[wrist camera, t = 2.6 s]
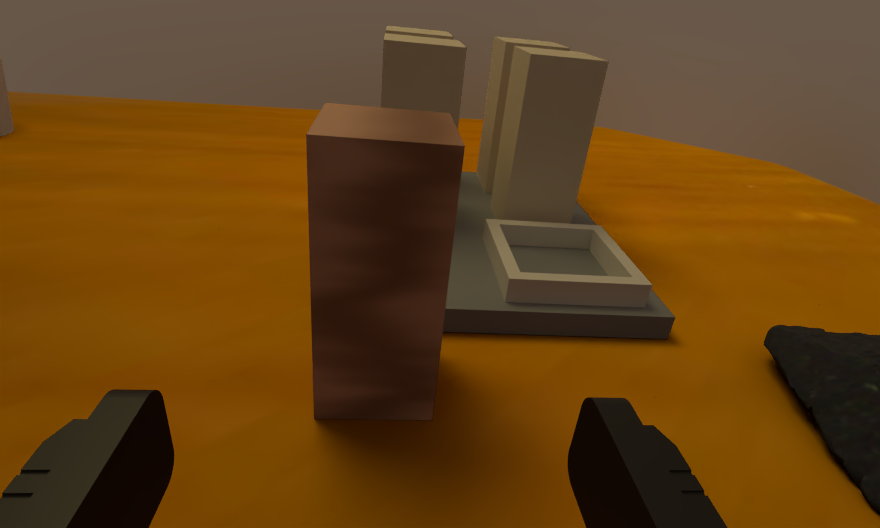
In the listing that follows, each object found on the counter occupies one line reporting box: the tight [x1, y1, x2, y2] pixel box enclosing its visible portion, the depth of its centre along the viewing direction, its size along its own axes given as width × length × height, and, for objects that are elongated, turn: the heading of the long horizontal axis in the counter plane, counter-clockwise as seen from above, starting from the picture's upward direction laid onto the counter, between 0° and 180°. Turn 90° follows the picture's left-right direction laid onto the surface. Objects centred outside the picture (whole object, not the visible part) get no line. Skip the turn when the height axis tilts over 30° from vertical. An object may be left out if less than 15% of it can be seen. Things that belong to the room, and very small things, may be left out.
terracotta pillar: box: [306, 103, 465, 420], centre depth 21 cm, size 5×5×12 cm
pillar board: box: [381, 26, 675, 339], centre depth 36 cm, size 19×24×14 cm
